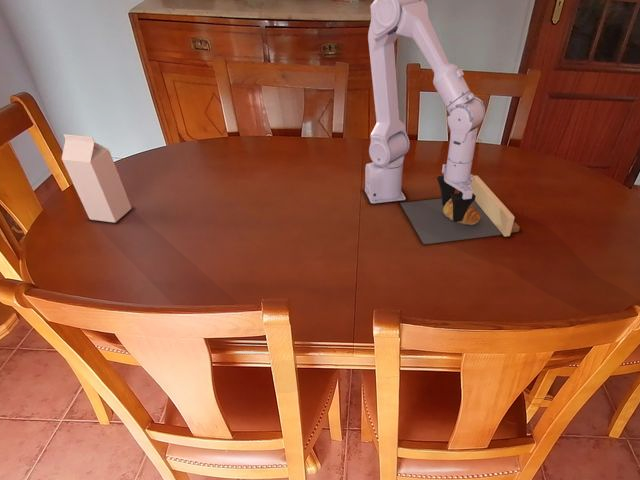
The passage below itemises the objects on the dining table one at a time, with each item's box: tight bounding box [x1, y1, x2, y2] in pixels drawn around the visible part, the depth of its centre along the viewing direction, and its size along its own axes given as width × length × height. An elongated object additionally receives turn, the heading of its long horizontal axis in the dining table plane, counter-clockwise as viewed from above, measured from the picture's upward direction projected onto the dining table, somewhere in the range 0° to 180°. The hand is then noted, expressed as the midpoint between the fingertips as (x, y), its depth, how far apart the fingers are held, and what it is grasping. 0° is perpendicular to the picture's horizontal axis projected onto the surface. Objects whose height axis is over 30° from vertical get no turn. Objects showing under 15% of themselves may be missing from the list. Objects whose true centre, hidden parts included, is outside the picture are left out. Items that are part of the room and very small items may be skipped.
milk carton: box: [61, 133, 132, 223], centre depth 109 cm, size 7×7×19 cm
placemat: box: [399, 198, 503, 245], centre depth 116 cm, size 20×20×1 cm
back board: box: [471, 175, 521, 238], centre depth 116 cm, size 4×22×5 cm, turn 14°
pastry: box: [443, 199, 481, 225], centre depth 115 cm, size 9×7×4 cm
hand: (451, 212), depth 115 cm, fingers open, 7 cm apart
